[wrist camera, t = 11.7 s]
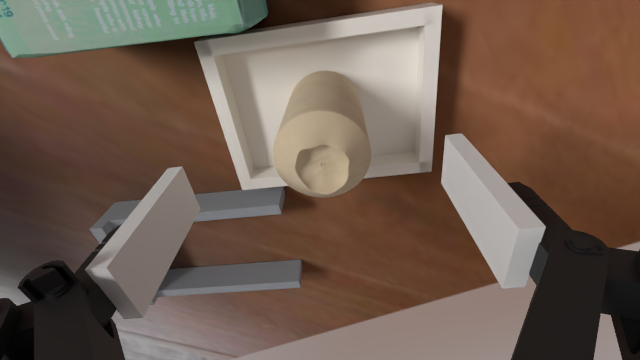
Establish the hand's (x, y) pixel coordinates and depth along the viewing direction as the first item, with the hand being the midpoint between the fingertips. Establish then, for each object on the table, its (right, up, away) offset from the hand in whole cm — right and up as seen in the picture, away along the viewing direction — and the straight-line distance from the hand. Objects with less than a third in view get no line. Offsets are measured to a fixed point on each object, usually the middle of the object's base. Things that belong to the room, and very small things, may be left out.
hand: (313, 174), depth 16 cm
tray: (+1, +6, +9) cm, 11 cm away
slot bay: (-10, -6, +17) cm, 21 cm away
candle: (+1, +6, +9) cm, 11 cm away
